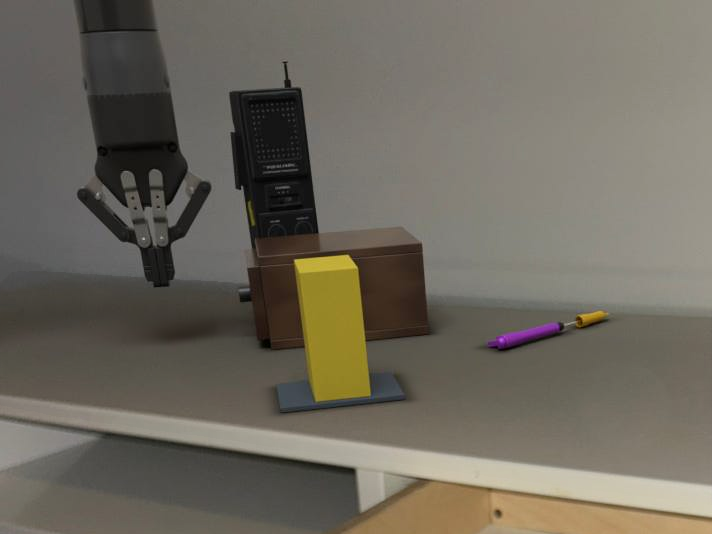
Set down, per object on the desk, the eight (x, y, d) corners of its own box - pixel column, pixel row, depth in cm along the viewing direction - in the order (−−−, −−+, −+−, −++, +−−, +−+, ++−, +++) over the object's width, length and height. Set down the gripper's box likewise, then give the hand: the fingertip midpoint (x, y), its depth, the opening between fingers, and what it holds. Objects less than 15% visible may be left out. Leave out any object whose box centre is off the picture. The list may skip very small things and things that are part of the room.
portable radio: (263, 321, 118) (226, 64, 106) (250, 312, 123) (212, 65, 111) (331, 311, 121) (302, 60, 109) (315, 303, 125) (286, 61, 114)
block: (315, 402, 86) (298, 272, 81) (309, 381, 92) (293, 259, 87) (371, 396, 86) (358, 267, 82) (361, 375, 92) (348, 254, 88)
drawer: (245, 341, 105) (234, 268, 101) (243, 317, 116) (233, 250, 112) (404, 325, 107) (398, 254, 104) (387, 303, 118) (381, 237, 115)
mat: (281, 412, 85) (280, 408, 85) (276, 388, 92) (276, 383, 92) (405, 399, 86) (404, 394, 86) (391, 376, 93) (391, 371, 93)
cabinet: (271, 349, 105) (258, 256, 101) (266, 322, 117) (254, 238, 113) (428, 334, 107) (422, 242, 103) (408, 309, 119) (401, 226, 115)
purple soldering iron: (503, 349, 99) (612, 319, 109) (501, 336, 99) (610, 307, 108) (484, 352, 101) (592, 322, 111) (481, 339, 100) (590, 311, 110)
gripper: (203, 86, 102) (229, 275, 110) (58, 92, 100) (96, 284, 108) (201, 86, 96) (229, 287, 104) (47, 93, 93) (88, 297, 102)
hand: (161, 285), depth 106 cm, fingers closed
